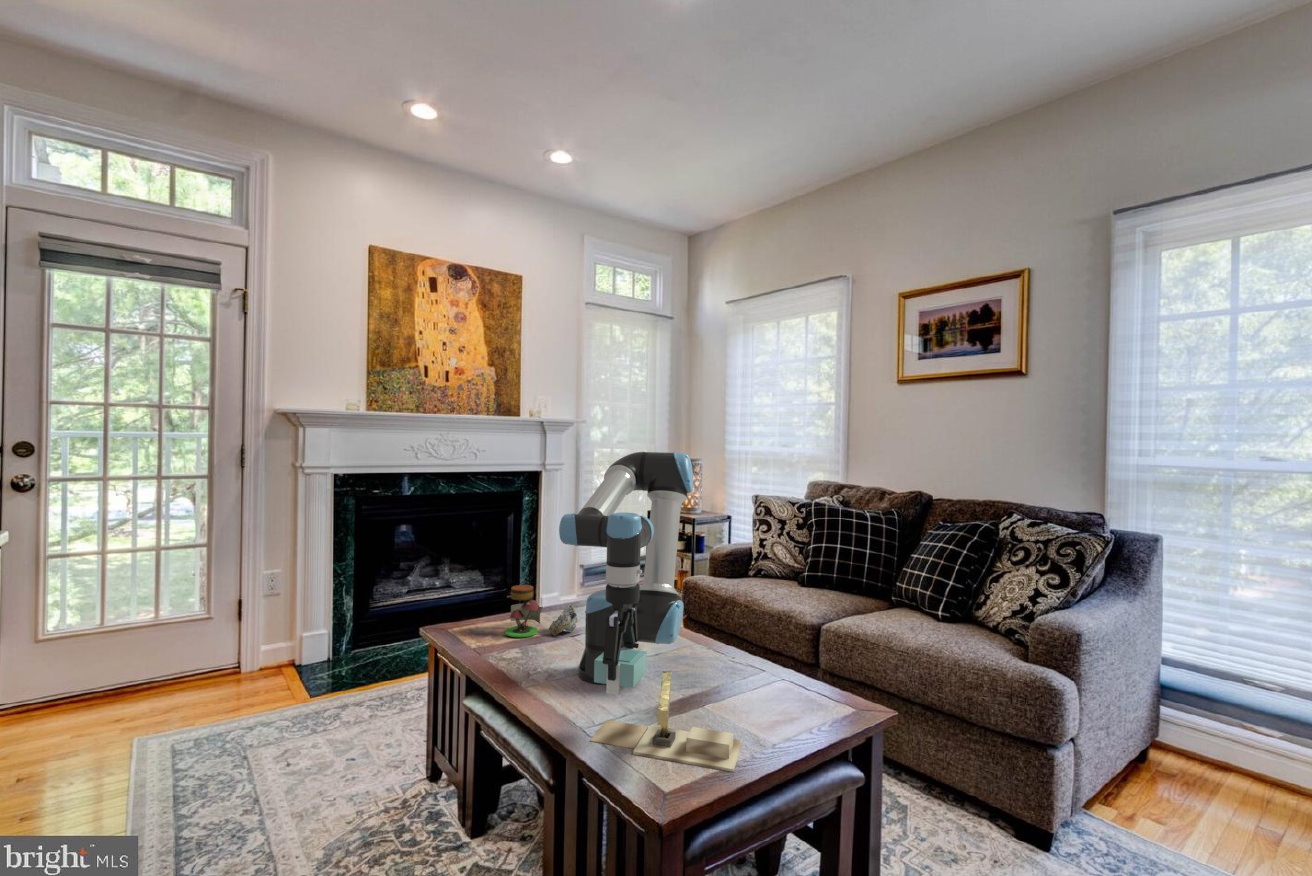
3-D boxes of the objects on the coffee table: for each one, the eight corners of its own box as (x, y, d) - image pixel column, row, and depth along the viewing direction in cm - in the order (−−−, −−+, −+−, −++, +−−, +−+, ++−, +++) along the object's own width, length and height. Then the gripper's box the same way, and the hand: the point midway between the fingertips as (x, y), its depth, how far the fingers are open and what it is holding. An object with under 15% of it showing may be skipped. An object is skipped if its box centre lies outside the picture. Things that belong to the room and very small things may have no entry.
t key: (666, 765, 121) (667, 710, 121) (656, 764, 121) (657, 710, 121) (670, 718, 141) (671, 671, 141) (661, 718, 141) (662, 671, 141)
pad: (590, 741, 131) (590, 740, 131) (606, 720, 141) (606, 719, 141) (633, 749, 128) (633, 748, 128) (647, 727, 138) (648, 726, 138)
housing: (633, 754, 126) (633, 737, 126) (650, 727, 138) (650, 712, 138) (733, 772, 120) (733, 754, 120) (742, 743, 132) (742, 727, 132)
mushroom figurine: (538, 638, 196) (539, 592, 196) (499, 637, 196) (500, 591, 196) (545, 627, 208) (546, 583, 208) (508, 626, 208) (509, 582, 208)
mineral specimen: (555, 618, 196) (541, 610, 204) (557, 642, 196) (544, 633, 204) (581, 609, 201) (567, 601, 209) (584, 633, 202) (569, 624, 210)
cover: (594, 682, 131) (594, 659, 131) (609, 667, 140) (609, 645, 140) (633, 687, 129) (633, 664, 129) (646, 672, 138) (646, 650, 138)
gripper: (622, 596, 123) (619, 708, 123) (653, 574, 144) (651, 669, 144) (587, 593, 125) (585, 702, 125) (623, 572, 146) (621, 665, 146)
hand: (620, 685), depth 134 cm, fingers closed on cover, 9 cm apart
